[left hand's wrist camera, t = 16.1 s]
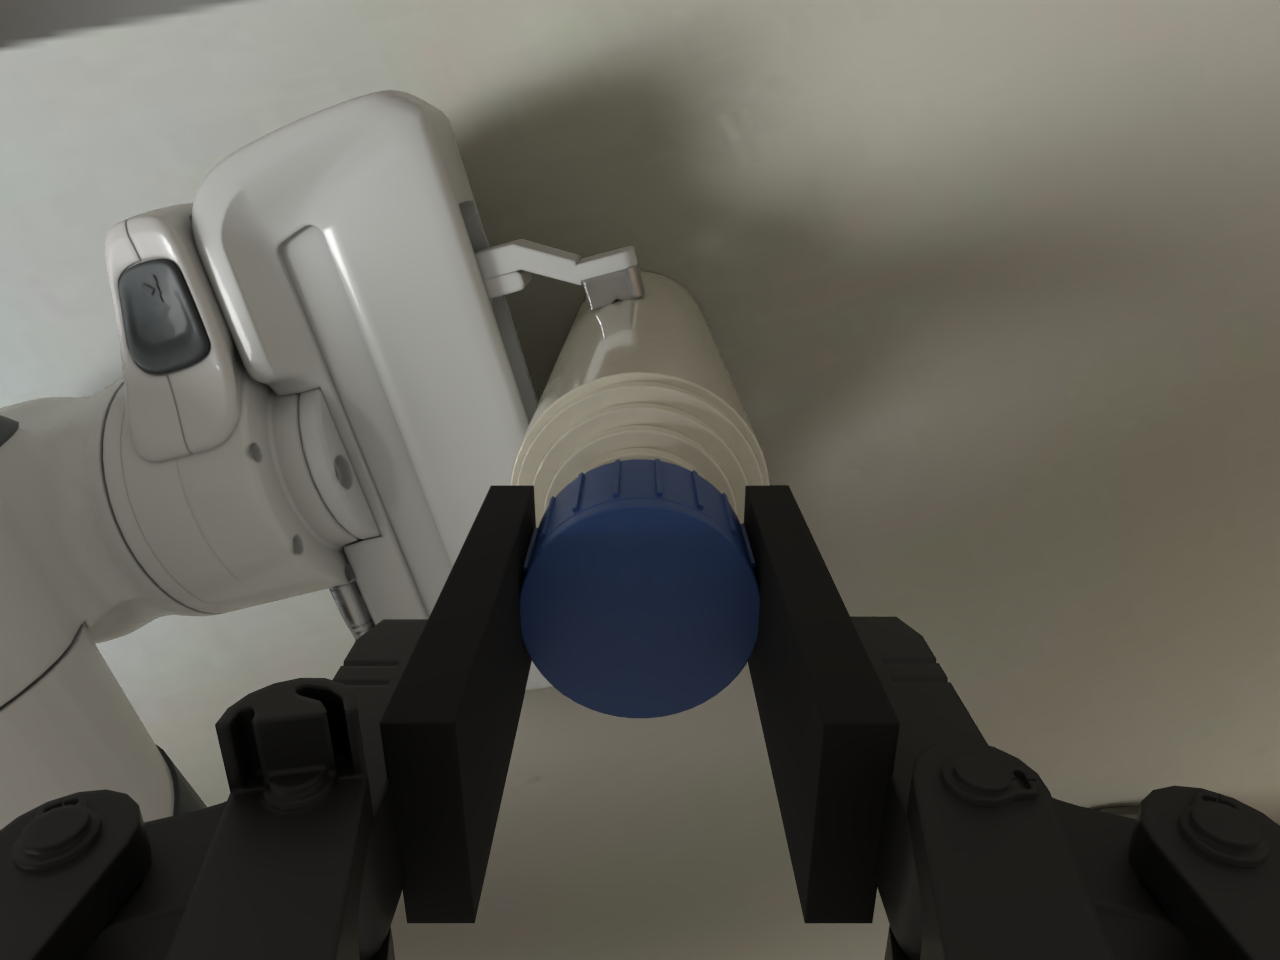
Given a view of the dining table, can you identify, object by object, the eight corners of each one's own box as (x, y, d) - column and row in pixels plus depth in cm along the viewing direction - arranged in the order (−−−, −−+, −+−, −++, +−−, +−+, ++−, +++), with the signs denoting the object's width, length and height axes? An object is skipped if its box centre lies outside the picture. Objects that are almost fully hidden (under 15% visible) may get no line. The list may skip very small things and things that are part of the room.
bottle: (726, 376, 33) (854, 681, 14) (604, 424, 34) (556, 781, 14) (677, 248, 32) (742, 385, 12) (550, 303, 32) (407, 518, 12)
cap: (729, 435, 14) (744, 480, 12) (761, 632, 15) (780, 701, 13) (508, 477, 14) (486, 527, 12) (560, 666, 15) (548, 739, 13)
